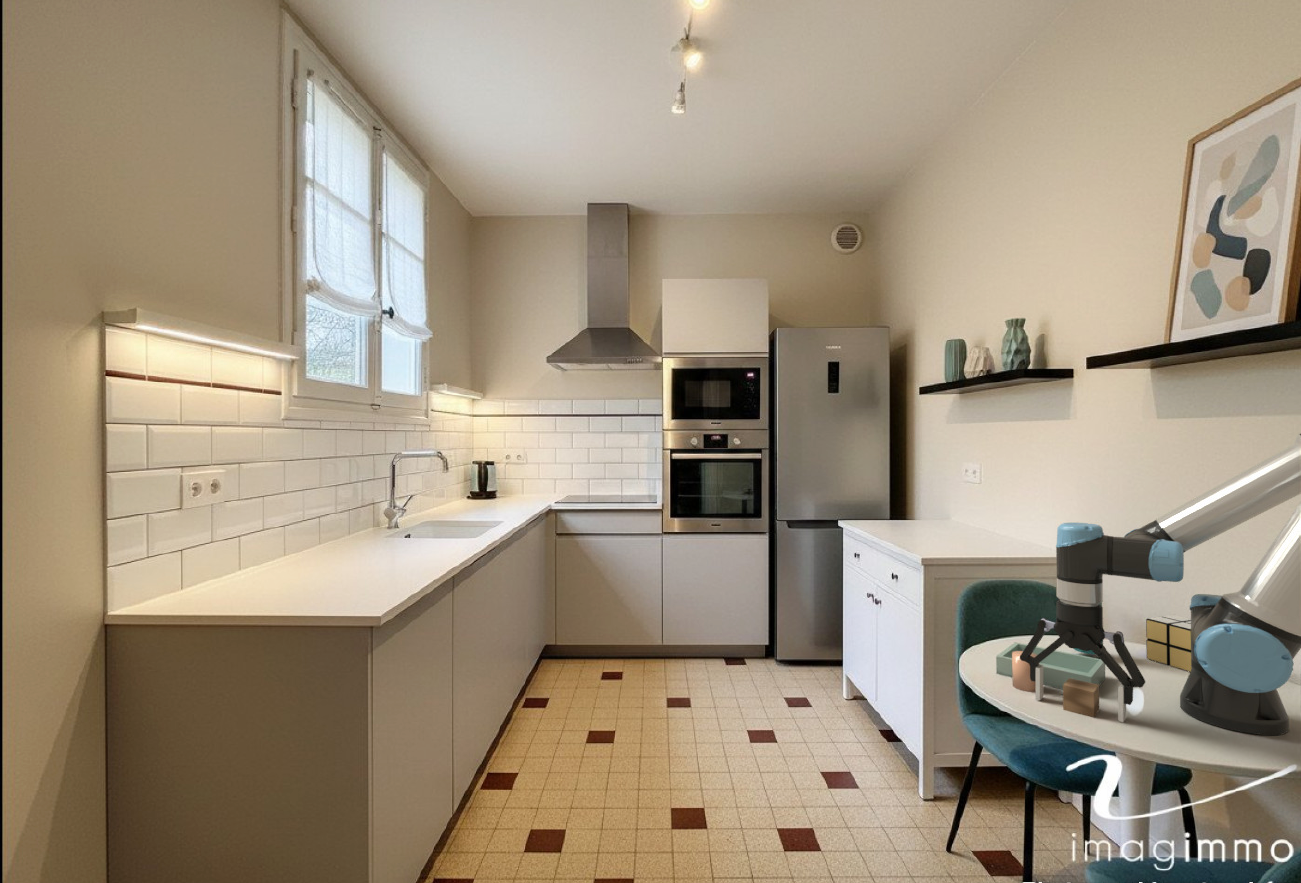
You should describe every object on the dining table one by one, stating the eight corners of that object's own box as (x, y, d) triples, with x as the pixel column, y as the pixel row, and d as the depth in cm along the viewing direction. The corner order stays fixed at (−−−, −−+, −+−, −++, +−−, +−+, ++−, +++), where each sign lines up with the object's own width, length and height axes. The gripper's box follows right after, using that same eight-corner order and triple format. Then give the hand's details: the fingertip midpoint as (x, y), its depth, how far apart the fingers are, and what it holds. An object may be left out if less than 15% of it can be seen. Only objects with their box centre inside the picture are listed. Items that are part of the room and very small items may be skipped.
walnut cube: (1099, 710, 122) (1099, 684, 122) (1093, 718, 119) (1093, 692, 119) (1069, 702, 126) (1069, 678, 126) (1063, 710, 122) (1063, 685, 122)
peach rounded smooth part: (1042, 687, 133) (1042, 654, 134) (1035, 693, 130) (1035, 660, 130) (1016, 680, 137) (1016, 649, 137) (1009, 687, 134) (1009, 654, 134)
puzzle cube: (1173, 654, 153) (1173, 614, 153) (1221, 668, 144) (1221, 625, 144) (1145, 659, 150) (1145, 618, 150) (1192, 673, 141) (1192, 629, 141)
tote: (1105, 678, 138) (1105, 660, 138) (1091, 696, 128) (1091, 677, 128) (1015, 658, 151) (1015, 642, 151) (996, 673, 141) (996, 656, 141)
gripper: (1163, 610, 116) (1163, 723, 116) (1014, 587, 134) (1014, 685, 134) (1157, 618, 111) (1157, 736, 111) (1003, 593, 129) (1003, 695, 129)
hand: (1079, 708), depth 122 cm, fingers open, 13 cm apart
